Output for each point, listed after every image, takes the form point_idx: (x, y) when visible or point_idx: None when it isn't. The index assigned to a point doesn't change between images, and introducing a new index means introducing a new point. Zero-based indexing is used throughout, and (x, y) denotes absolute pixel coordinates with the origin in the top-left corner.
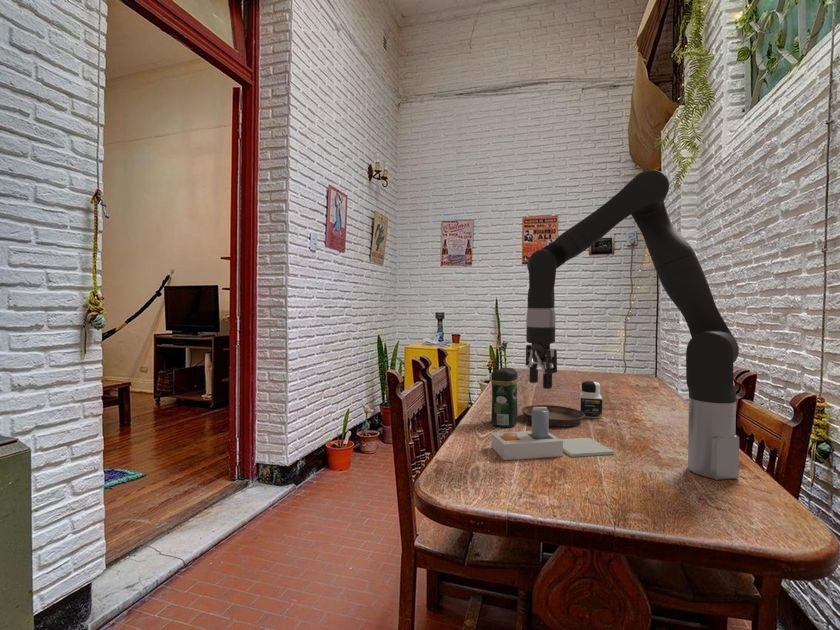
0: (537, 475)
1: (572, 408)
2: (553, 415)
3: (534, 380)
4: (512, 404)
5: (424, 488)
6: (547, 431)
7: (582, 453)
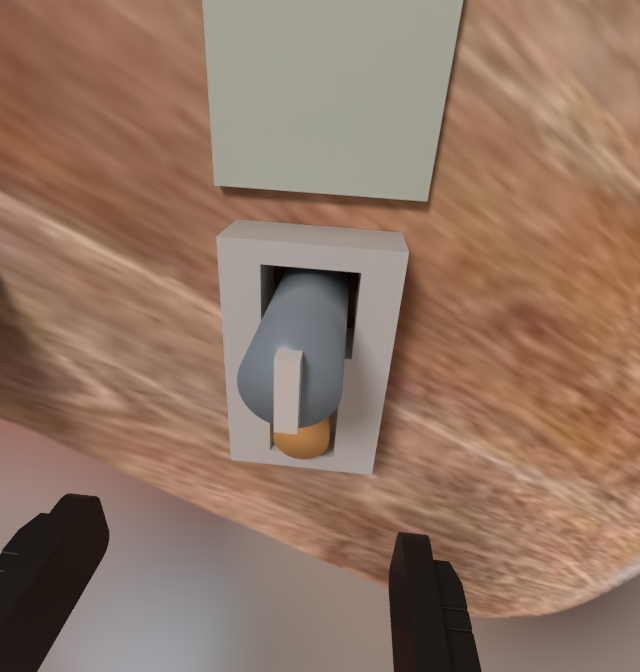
0: (525, 408)
1: None
2: None
3: (89, 534)
4: None
5: (471, 615)
6: (341, 310)
7: (437, 142)
